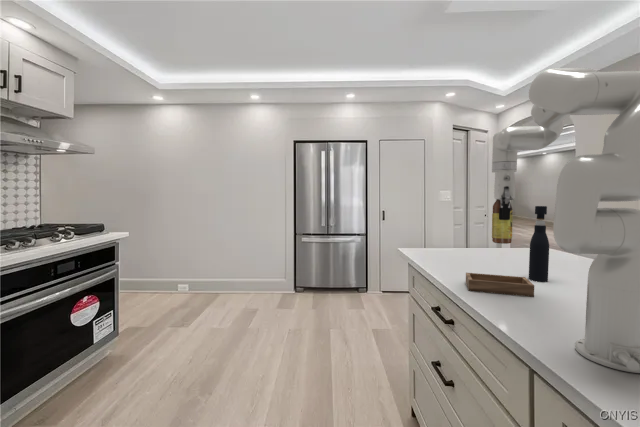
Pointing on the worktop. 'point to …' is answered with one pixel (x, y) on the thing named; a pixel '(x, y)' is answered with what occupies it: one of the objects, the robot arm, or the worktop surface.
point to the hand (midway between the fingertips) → (502, 218)
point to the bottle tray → (499, 284)
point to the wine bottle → (539, 249)
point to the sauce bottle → (501, 225)
